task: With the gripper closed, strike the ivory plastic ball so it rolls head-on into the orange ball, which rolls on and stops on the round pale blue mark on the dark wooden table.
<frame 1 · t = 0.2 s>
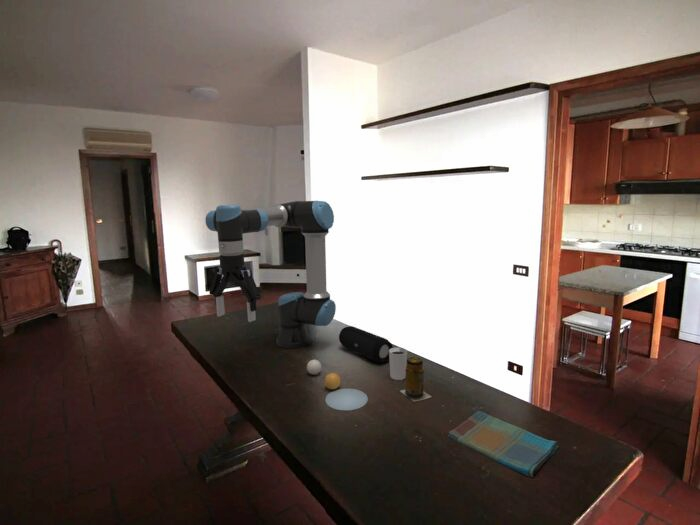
hand: (236, 318, 128), 28 cm above the table, tool pointing down, fingers open, 13 cm apart
white cup: (397, 376, 146), on the table
orange ball: (332, 381, 137), on the table
blue mark: (346, 399, 130), on the table
portable speaker: (365, 355, 167), on the table
condiment: (415, 394, 132), on the table
ivory ball: (314, 367, 148), on the table
dish towel: (501, 444, 106), on the table
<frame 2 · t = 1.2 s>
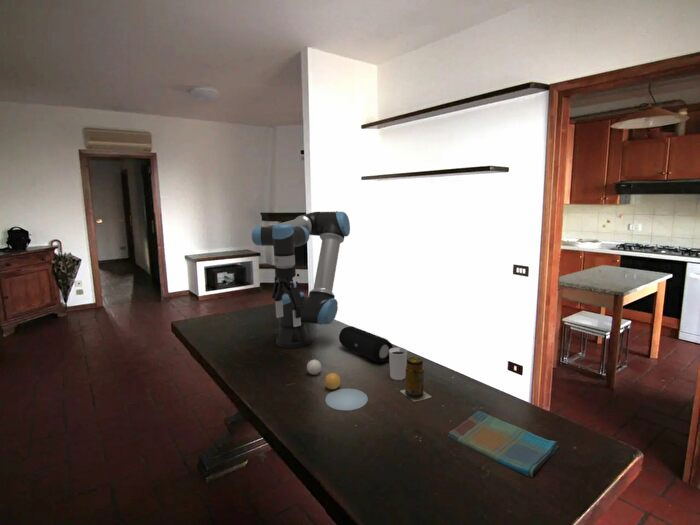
hand: (288, 321, 148), 20 cm above the table, tool pointing down, fingers open, 13 cm apart
nothing on the table moved.
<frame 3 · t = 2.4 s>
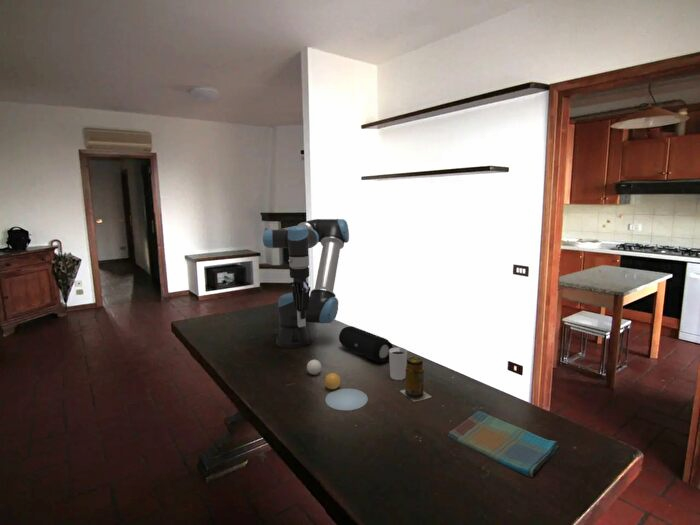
hand: (301, 326, 154), 16 cm above the table, tool pointing down, fingers closed
nothing on the table moved.
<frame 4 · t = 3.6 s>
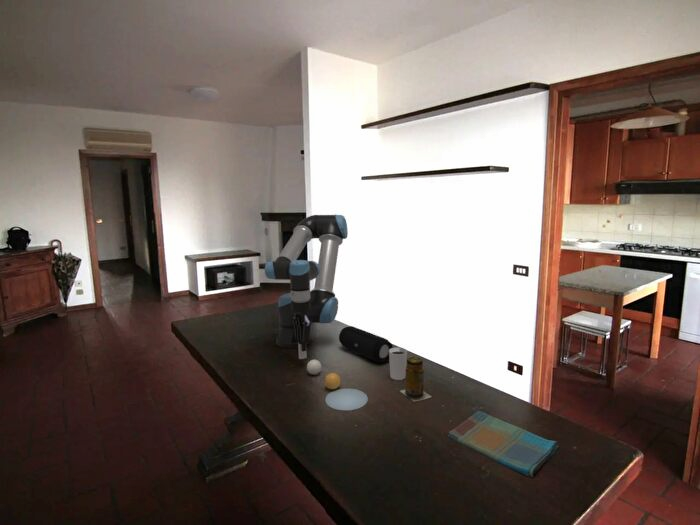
hand: (302, 357, 156), 3 cm above the table, tool pointing down, fingers closed
nothing on the table moved.
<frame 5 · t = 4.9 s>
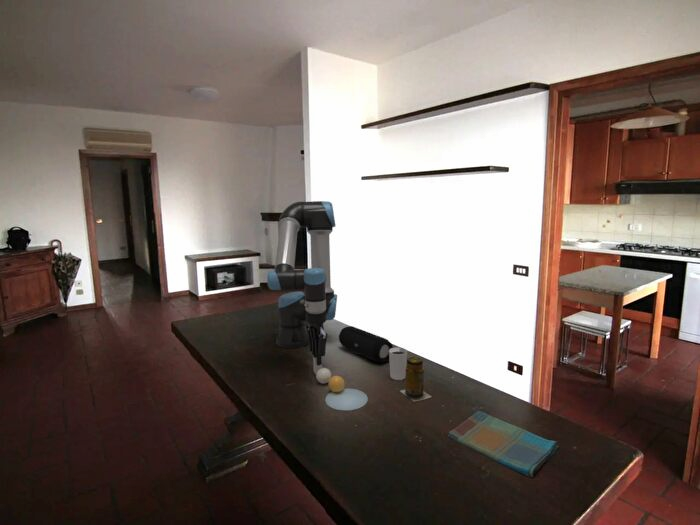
hand: (317, 372, 146), 2 cm above the table, tool pointing down, fingers closed
orange ball: (336, 384, 135), on the table
ivory ball: (323, 375, 141), on the table
everything else where it was.
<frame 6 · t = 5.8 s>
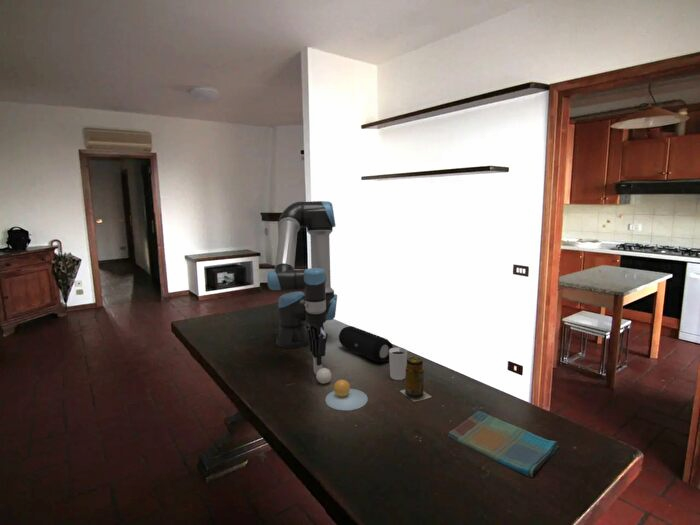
hand: (317, 372, 146), 2 cm above the table, tool pointing down, fingers closed
orange ball: (341, 388, 132), on the table
everything else where it was.
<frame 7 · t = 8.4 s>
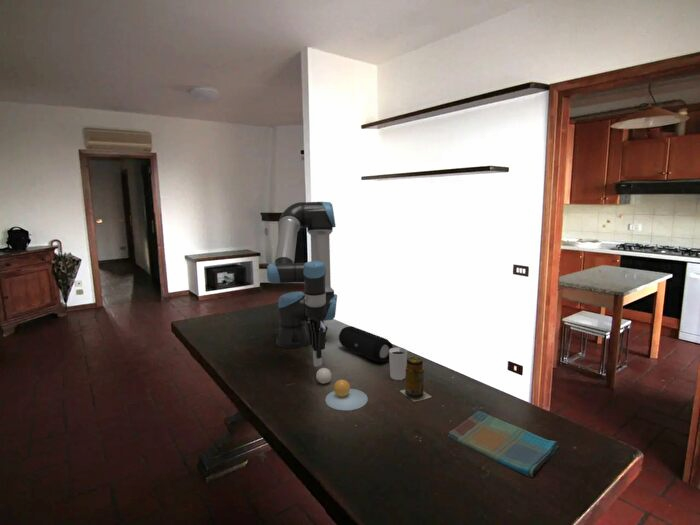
hand: (317, 365, 146), 4 cm above the table, tool pointing down, fingers closed
nothing on the table moved.
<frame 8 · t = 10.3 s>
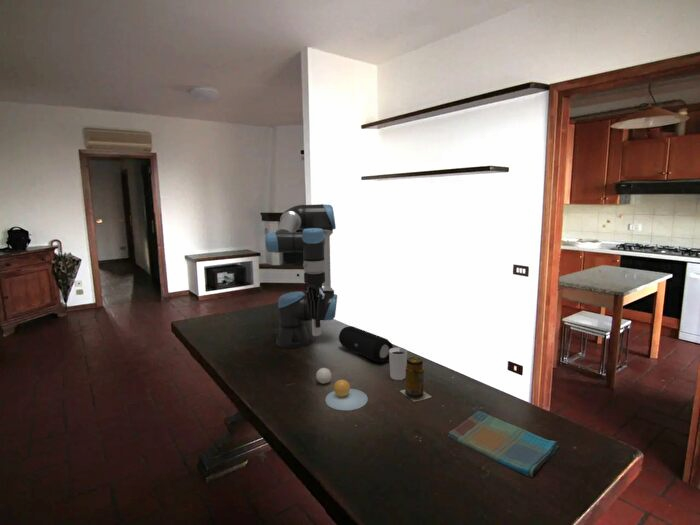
hand: (316, 334, 144), 16 cm above the table, tool pointing down, fingers closed
nothing on the table moved.
at the end: orange ball 2.9 cm from the blue mark (horizontally); orange ball never touched the robot; ivory ball first touched orange ball at 4.6 s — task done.
